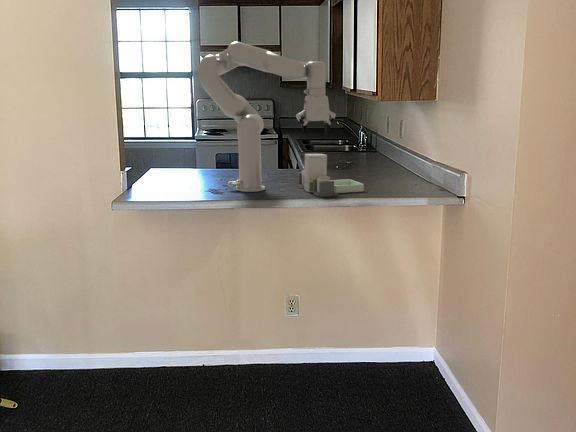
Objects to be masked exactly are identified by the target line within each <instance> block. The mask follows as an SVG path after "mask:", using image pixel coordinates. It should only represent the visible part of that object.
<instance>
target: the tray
mask: <svg viewBox="0 0 576 432" xmlns="http://www.w3.org/2000/svg"><path fill="white" fill-rule="evenodd" d="M330 181H334V194H341V193H342V194H345V193H356V192H357V193H359V192H364V189H365V184H364V183H362V182H359V181H356V180H354V179H348V178H347V179H346V178H345V179H333V180H332V179H330Z"/></svg>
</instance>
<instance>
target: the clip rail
mask: <svg viewBox="0 0 576 432" xmlns="http://www.w3.org/2000/svg"><path fill="white" fill-rule="evenodd" d="M297 188H299V189H303V190H304V174H303V185H302V172H297ZM312 193H313V194H312V195H315V196H317V197H319V198H322V197H324V198H325V197H334V196H335V192H334V181H322V182H319V193H318V192H317V178H313V192H312Z"/></svg>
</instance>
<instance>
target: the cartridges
mask: <svg viewBox="0 0 576 432" xmlns="http://www.w3.org/2000/svg"><path fill="white" fill-rule="evenodd" d="M304 172H305V169H301V173H302V185H303V174H304ZM330 180H331V176H328V175H327V176H317V192H318V193H319V182H322V181H330Z"/></svg>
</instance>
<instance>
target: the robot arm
mask: <svg viewBox="0 0 576 432" xmlns="http://www.w3.org/2000/svg"><path fill="white" fill-rule="evenodd" d="M240 66H245V67H248V68H251V69H255V70H257V71H258V70H259V71H261V72H264V73H270V74H273V75H276V76H280V77H283V78H285V79H289V80H293V81H301V80H306V89H304V90H303V94H306V95H305V97H304V103H303V110H302V111H301V112H299V113H297V114H296V115H295V117H296V119H297V121H298V122H299V124H301V130H302V131H301V132H302V134H303V136H308V125H307V124H308V123H309V122H317V121H318V122H322V121H323V122H324V123H325V124H324V135H330V132H331V124H332V123H333V122H334V121H335V119H336V116H337V113H335V112H333V111H331V110H330V104H329V103H330V102H329V98H328V95H326V81H327V80H326V78H327V77H326V71H327V69H326V63H325V62H324V61H318V60H317V61H308V62H306V61H299V60H296V59H291V58H288V57H285V56H282V55H279V54H276V53H274V52H272V51H270V50H268V49H265V48H261V47H258V46H254V45H251V44H248V43H246V42H245V43H244V42H241V41H233V42H231V43H230V44H229V45H228V46H227V48H226V49H225V50H222V51H221V52H219V53H217V54H208V55H206V56H203V58H202V59H201V60H200V62H199V65H198V67H197V68H198V69H197V76H198V81H199V83H200V85H201V87H202V89H203V90H204V91H205V92H206V94H207V95H208V96H209V98H211V99H212V100H213V102H214V103H215V104H216V106H218V108H219V109H220V111H222V113H223V114H224V115H225V116H226V117H227V118H231V119H233V120H234V121H235V122H236V123H237V127H236V133H237V142H238V143H237V147H238V178H237V180H234V181H233V180H232V181H227V185H228V187H235V190H236V191H239V192H241V193H243V192H244V193H245V192H246V193H254V192H255V193H256V192H262V191H265V190H266V186H265V185H262V183H263V181H262V143H261V142H262V141H261V133H262V131H263V130H264V128H265V125H264V124H265V123H264V120H263V118H262V116H261V115H260V114H259V113H258V112H257V111H256V110H255V109H256V108H254V107H253V106H252V105H251V104H250V103H249V101H248V100H247V99H246V98H245V97H244V96H242V95H241V94H237V93H235V92H233V90H232V89H231V88H230V87H229V86H228V84H227V83H226V82H225V81H224V80H223V79H222V78H221V76H222V75H225V74H226V73H228V72H230V71H232V70H234V69H235V68H237V67H240ZM302 116H303V119H302Z"/></svg>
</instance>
